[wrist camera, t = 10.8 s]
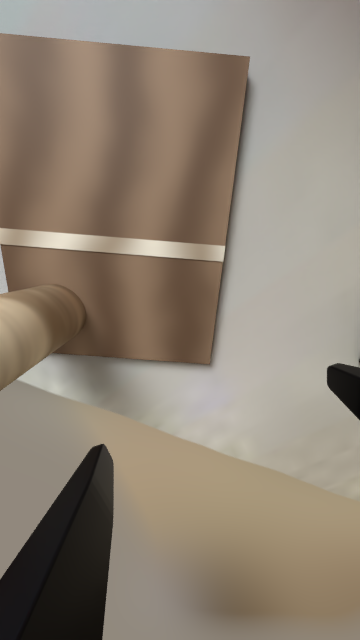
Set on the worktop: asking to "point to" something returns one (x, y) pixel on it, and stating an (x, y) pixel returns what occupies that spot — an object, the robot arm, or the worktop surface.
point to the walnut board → (120, 187)
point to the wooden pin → (35, 326)
